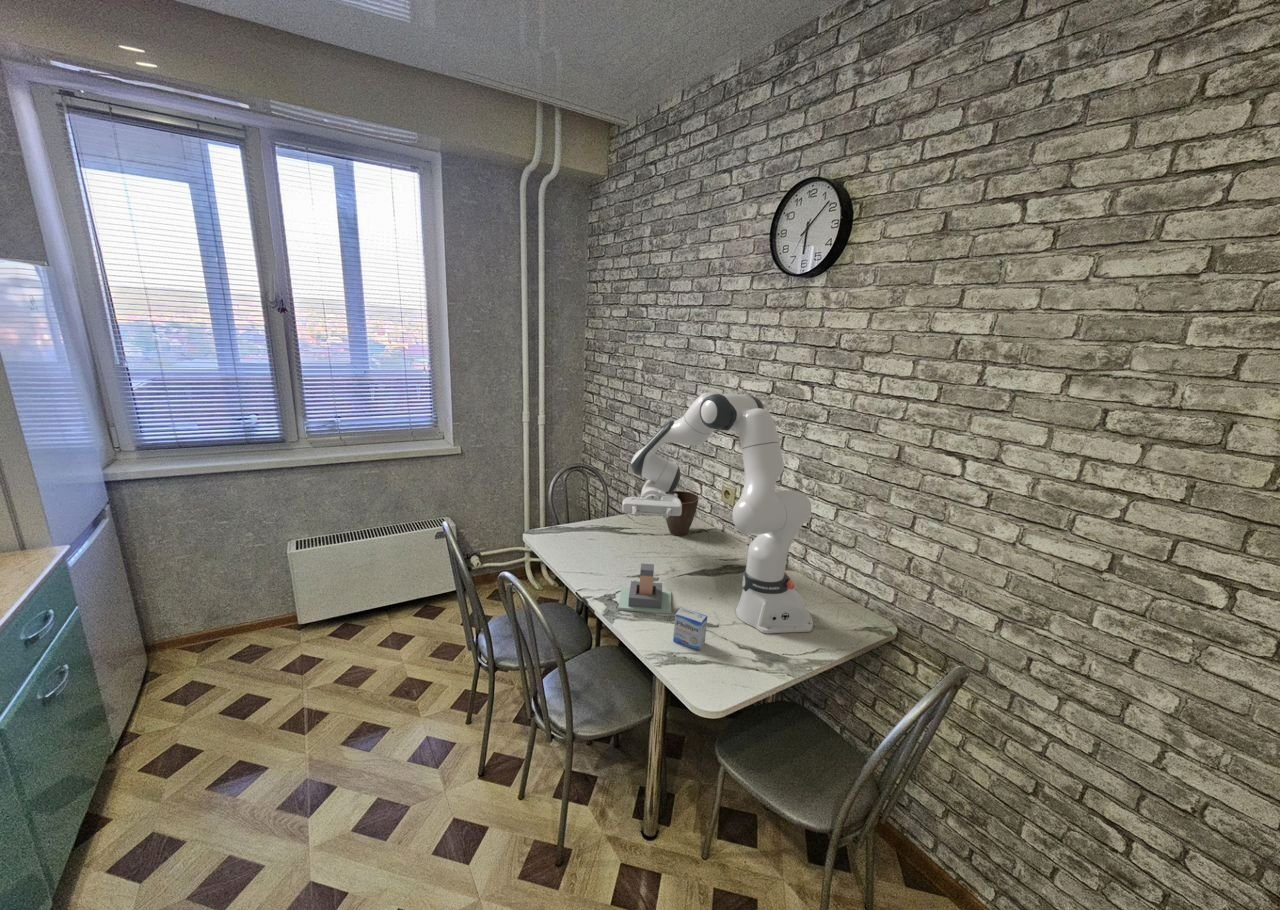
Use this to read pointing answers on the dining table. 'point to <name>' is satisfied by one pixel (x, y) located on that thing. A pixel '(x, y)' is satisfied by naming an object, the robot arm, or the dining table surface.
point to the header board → (664, 601)
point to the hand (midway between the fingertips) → (651, 515)
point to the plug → (646, 579)
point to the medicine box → (690, 628)
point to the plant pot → (683, 514)
